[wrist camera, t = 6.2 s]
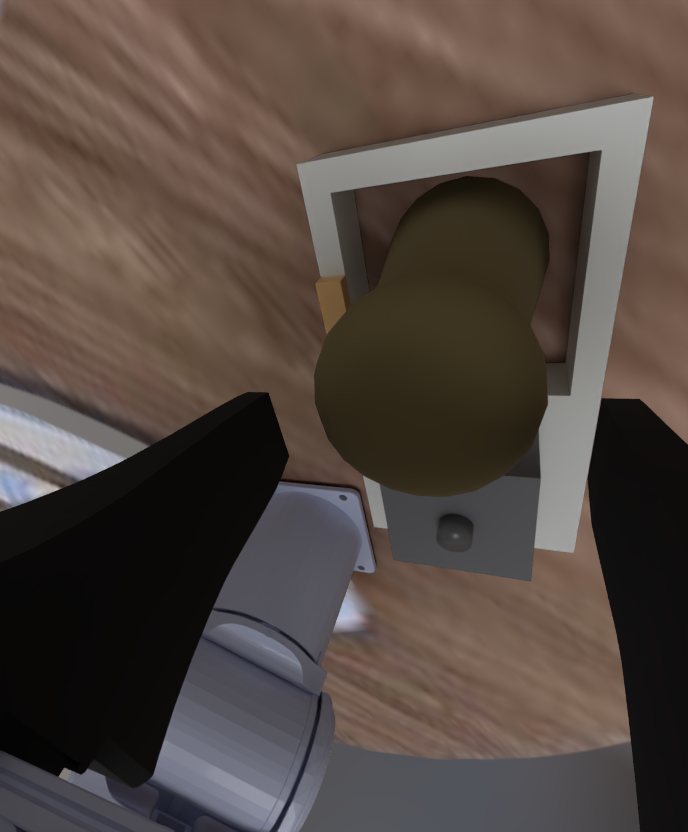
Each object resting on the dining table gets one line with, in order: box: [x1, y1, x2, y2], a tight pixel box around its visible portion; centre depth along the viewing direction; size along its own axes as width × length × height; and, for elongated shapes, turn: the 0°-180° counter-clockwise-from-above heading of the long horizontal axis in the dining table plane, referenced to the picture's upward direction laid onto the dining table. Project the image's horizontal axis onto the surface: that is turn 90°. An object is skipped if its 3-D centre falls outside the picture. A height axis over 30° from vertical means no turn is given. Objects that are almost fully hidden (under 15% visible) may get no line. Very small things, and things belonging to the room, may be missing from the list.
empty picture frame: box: [297, 94, 654, 581], centre depth 17 cm, size 10×18×6 cm, turn 12°
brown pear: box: [314, 176, 549, 497], centre depth 13 cm, size 6×6×11 cm
